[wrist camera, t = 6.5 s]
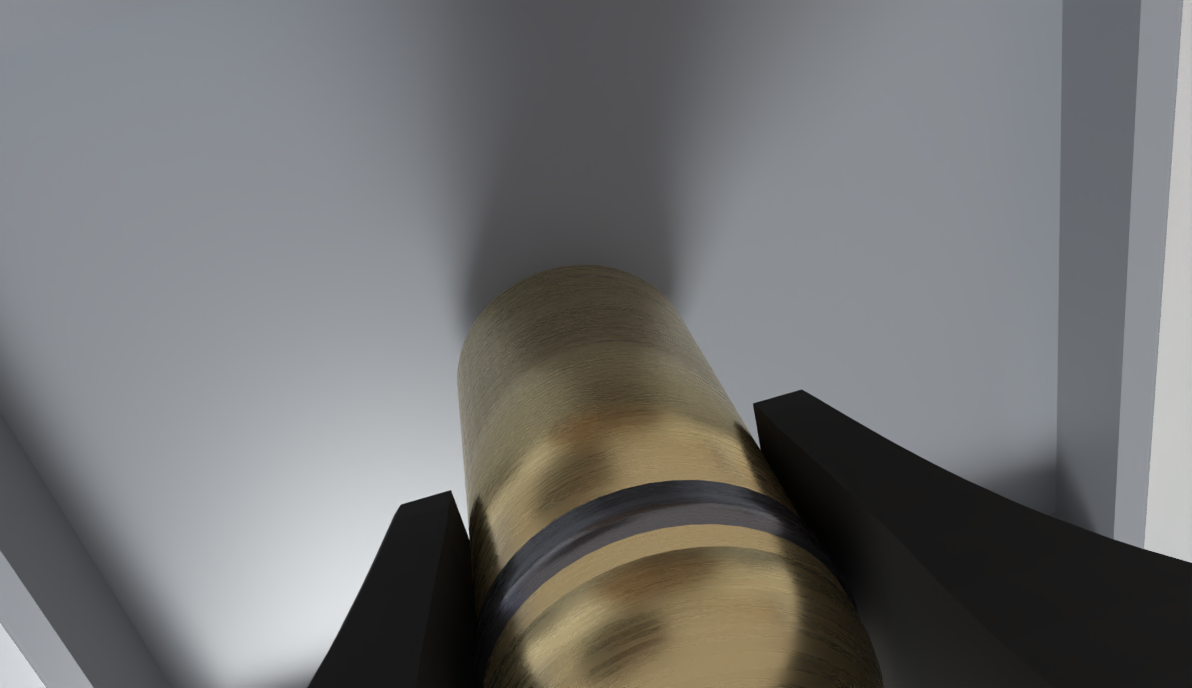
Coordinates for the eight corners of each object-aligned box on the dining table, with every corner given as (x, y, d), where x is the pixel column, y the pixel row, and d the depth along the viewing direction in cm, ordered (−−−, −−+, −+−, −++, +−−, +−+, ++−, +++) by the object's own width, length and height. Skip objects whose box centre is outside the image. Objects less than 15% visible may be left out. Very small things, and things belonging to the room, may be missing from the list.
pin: (491, 504, 15) (560, 1089, 8) (421, 300, 13) (426, 811, 6) (712, 441, 15) (982, 955, 8) (672, 231, 13) (969, 647, 6)
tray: (208, 756, 19) (179, 874, 16) (-238, 46, 12) (-384, 84, 10) (1059, 503, 20) (1141, 583, 17) (1072, -286, 13) (1204, -320, 11)
